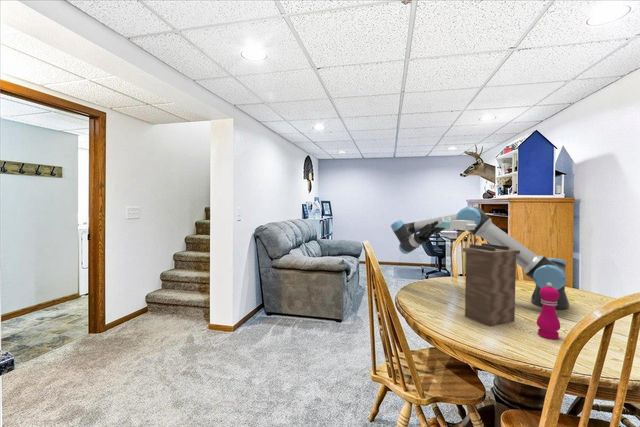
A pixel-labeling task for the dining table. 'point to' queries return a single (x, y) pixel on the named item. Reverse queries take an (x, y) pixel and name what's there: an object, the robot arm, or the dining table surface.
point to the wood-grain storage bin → (490, 283)
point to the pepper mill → (548, 313)
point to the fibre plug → (458, 224)
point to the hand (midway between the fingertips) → (446, 219)
